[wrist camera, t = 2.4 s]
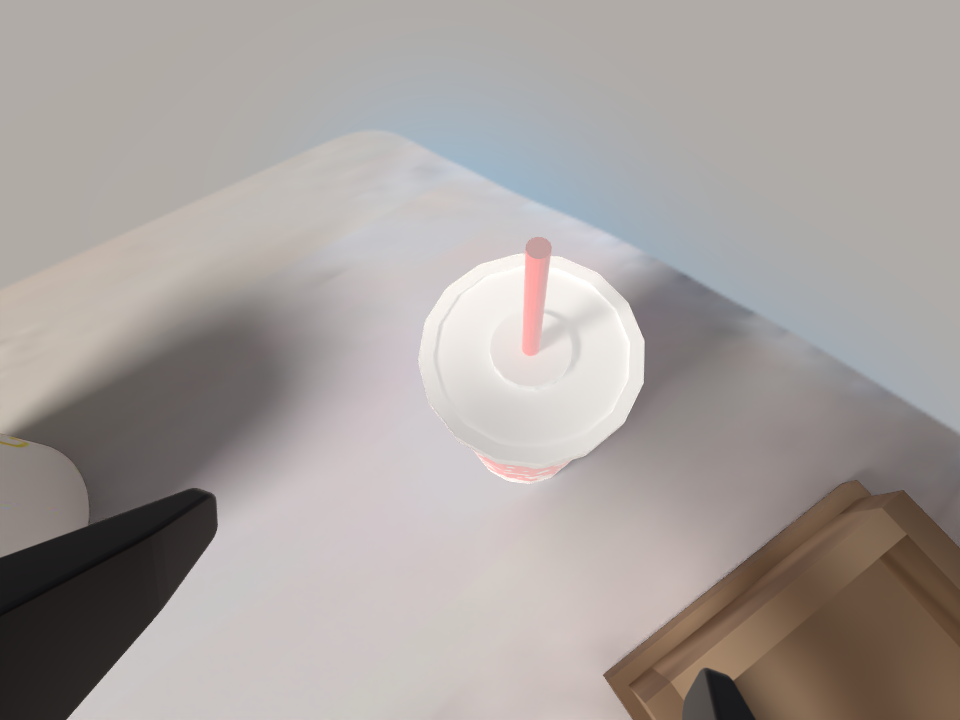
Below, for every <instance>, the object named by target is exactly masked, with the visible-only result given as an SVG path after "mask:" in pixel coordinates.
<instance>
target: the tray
mask: <svg viewBox="0 0 960 720" xmlns="http://www.w3.org/2000/svg"><path fill="white" fill-rule="evenodd" d="M705 667H706V668H710V669H713V670H716V671H719V672H721V673H724V674H727V675H728V676H729V677H730V678H731V679H732V680H733V681H734V683H735V684H736V686H737V688H738V690H739V691H740V693H741V695H742V696H743V698H744V700H745V701H746V703H747V705H748V707H749V708H750V710H751V712H752V713H753V715H754V717H755V718H756V720H960V548H959V547H958V546H957V545H956V544H955V543H954V542H953V541H952V540H951V539H950V538H949V537H948V536H947V535H946V534H945V532H944V531H943V530H942V529H941V528H940V527H939V526H938V525H937V524H936V523H935V522H934V521H933V520H932V519H931V518H930V517H929V516H928V515H927V514H926V513H925V512H924V511H923V510H922V509H921V508H920V507H919V506H918V505H917V504H916V503H915V502H914V501H913V500H912V499H911V498H910V497H909V496H908V495H907V493H906V492H905V491H904V490H902V491H897V492H891V493H886V494H881V495H876V496H872V495H871V494H870V493H869V492H868V491H867V490H866V489H865V488H864V487H863V486H862V485H861V484H860V483H859V482H858V481H857V480H855V481H851V482H847V483H843V484H841V485H840V486H838V487H837V488H836V489H835V490H833V491H832V492H831V493H830V494H828V495H827V496H826V497H825V498H823V499H822V500H821V501H820V502H818V503H817V504H816V505H815V506H813V507H812V508H811V509H810V510H808V511H807V512H806V513H805V514H803V515H802V516H801V517H800V518H798V519H797V520H796V521H795V522H793V523H792V524H791V525H790V526H788V527H787V528H786V529H785V530H783V531H782V532H781V533H780V534H778V535H777V536H776V537H775V538H773V539H772V540H771V541H770V542H768V543H767V544H766V545H765V546H763V547H762V548H761V549H760V550H758V551H757V552H756V553H755V554H753V555H752V556H751V557H750V558H748V559H747V560H746V561H745V562H744V563H742V564H741V565H740V566H739V567H737V568H736V569H735V570H734V571H732V572H731V573H730V574H729V575H727V576H726V577H725V578H724V579H722V580H721V581H720V582H719V583H717V584H716V585H715V586H714V587H712V588H711V589H710V590H709V591H707V592H706V593H705V594H704V595H702V596H701V597H700V598H699V599H697V600H696V601H695V602H694V603H692V604H691V605H690V606H689V607H687V608H686V609H685V610H684V611H682V612H681V613H680V614H679V615H677V616H676V617H675V618H674V619H672V620H671V621H670V622H669V623H667V624H666V625H665V626H664V627H662V628H661V629H660V630H659V631H657V632H656V633H655V634H654V635H652V636H651V637H650V638H649V639H647V640H646V641H645V642H644V643H642V644H641V645H640V646H639V647H637V648H636V649H635V650H634V651H632V652H631V653H630V654H629V655H627V656H626V657H625V658H624V659H622V660H621V661H620V662H619V663H617V664H616V665H615V666H614V667H612V668H611V669H610V670H609V671H607V672H606V673H605V674H604V675H603V676H604V677H605V679H606V680H607V682H608V683H609V685H610V686H611V688H612V689H613V691H614V692H615V694H616V695H617V697H618V698H619V700H620V701H621V703H622V704H623V706H624V707H625V709H626V710H627V712H628V713H629V715H630V716H631V718H632V719H633V720H682V708H683V703H684V699H685V697H686V694H687V693H688V691H689V689H690V687H691V686H692V684H693V682H694V680H695V678H696V677H697V675H698V673H699V671H700V670H701V669H702V668H705Z"/></svg>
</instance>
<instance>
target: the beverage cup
mask: <svg viewBox="0 0 960 720" xmlns="http://www.w3.org/2000/svg"><path fill="white" fill-rule="evenodd" d="M418 363H419V367H420V371H421V375H422V379H423V383H424V387H425V391H426V395H427V399H428V402H429V404H430V406H431V407H432V408H433V410H434V411H435V412H436V413H437V415H438V416H439V417H440V419H441V420H442V421H443V422H444V424H445V425H446V426H447V428H448V429H449V430H450V431H451V433H452V434H453V435H454V437H455V438H456V439H457V440H458V442H459V443H461V444H463V445H465V446H467V447H468V448H470V449H472V450H474V451H475V453H476V454H477V455H478V457H479V458H480V459H481V460H482V462H483V463H484V464H485V465H486V467H487V468H488V469H489V471H491V472H493V473H495V474H496V475H498V476H500V477H502V478H504V479H505V480H507V481H511V482H520V483H528V484H531V483H534V482H538V481H541V480H545V479H548V478H551V477H552V476H554V475H555V474H556V473H557V472H559V471H560V470H561V469H562V468H563V467H565V466H566V465H567V464H568V463H569V462H570V461H571V460H573V459H577V458H580V457H584V456H586V455H587V454H588V453H589V452H591V451H592V450H593V449H594V448H595V447H597V446H598V445H599V444H600V443H601V442H603V441H604V440H605V439H606V438H607V437H609V436H610V435H611V434H612V433H613V432H615V431H616V430H617V429H618V428H619V427H620V426H622V425H623V424H624V422H625V420H626V418H627V416H628V414H629V412H630V410H631V408H632V406H633V404H634V402H635V400H636V398H637V396H638V394H639V392H640V390H641V388H642V385H643V383H644V338H643V336H642V334H641V331H640V329H639V327H638V324H637V322H636V320H635V317H634V315H633V313H632V310H631V308H630V306H629V303H628V302H627V301H626V300H625V299H624V298H623V297H622V296H621V295H620V294H619V293H618V292H617V291H616V290H615V289H614V288H613V287H612V286H611V285H610V284H609V283H608V282H607V281H606V280H605V279H604V278H603V277H602V276H601V275H600V274H599V273H596V272H594V271H592V270H590V269H587V268H585V267H583V266H581V265H578V264H576V263H574V262H572V261H569V260H567V259H565V258H563V257H559V256H551V244H550V242H549V241H548V240H547V239H545V238H542V237H535V238H532V239H531V240H529V241H528V243H527V244H526V251H525V254H516V255H512V256H508V257H505V258H501V259H497V260H494V261H490V262H486V263H483V264H479V265H478V266H477V267H475V268H474V269H472V270H471V271H470V272H468V273H467V274H465V275H464V276H463V277H461V278H460V279H458V280H457V281H456V282H454V283H453V284H451V285H450V286H448V287H447V288H446V290H445V291H444V293H443V294H442V296H441V297H440V299H439V300H438V302H437V303H436V305H435V307H434V308H433V310H432V311H431V313H430V314H429V316H428V317H427V319H426V320H425V324H424V329H423V335H422V341H421V346H420V352H419V358H418Z"/></svg>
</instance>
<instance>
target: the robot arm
mask: <svg viewBox="0 0 960 720" xmlns="http://www.w3.org/2000/svg"><path fill="white" fill-rule="evenodd" d="M217 527H218V522H217V504H216V497H215V496H214V494H212V493H210V492H207V491H204V490H201V489H198V488H191V489H188V490H185V491H182V492H180V493H177V494H174V495H171V496H169V497H166V498H163V499H160V500H158V501H155V502H152V503H149V504H147V505H144V506H141V507H138V508H135V509H133V510H130V511H127V512H124V513H122V514H119V515H116V516H113V517H111V518H108V519H105V520H102V521H100V522H97V523H94V524H91V525H89V526H86V527H83V528H80V529H78V530H75V531H72V532H69V533H67V534H64V535H61V536H58V537H55V538H53V539H50V540H47V541H44V542H42V543H39V544H36V545H33V546H31V547H28V548H25V549H22V550H20V551H17V552H14V553H11V554H9V555H6V556H3V557H0V720H66V719H67V718H68V717H69V716H70V715H71V714H72V713H73V711H74V710H75V709H76V708H77V707H78V706H79V705H80V703H81V702H82V701H83V700H84V699H85V698H86V697H87V695H88V694H89V693H90V692H91V691H92V690H93V688H94V687H95V686H96V685H97V684H98V683H99V682H100V680H101V679H102V678H103V677H104V676H105V675H106V674H107V672H108V671H109V670H110V669H111V668H112V667H113V666H114V664H115V663H116V662H117V661H118V660H119V659H120V657H121V656H122V655H123V654H124V653H125V652H126V651H127V649H128V648H129V647H130V646H131V645H132V644H133V643H134V641H135V640H136V639H137V638H138V637H139V636H140V635H141V633H142V632H143V631H144V630H145V629H146V628H147V626H148V625H149V624H150V623H151V622H152V621H153V619H154V618H155V617H156V616H157V615H158V613H159V612H160V611H161V610H162V609H163V607H164V606H165V605H166V603H167V602H168V601H169V599H170V598H171V597H172V595H173V594H174V592H175V591H176V590H177V588H178V587H179V585H180V584H181V583H182V581H183V580H184V579H185V577H186V576H187V574H188V573H189V572H190V570H191V569H192V567H193V566H194V565H195V563H196V562H197V561H198V559H199V558H200V556H201V555H202V554H203V552H204V551H205V549H206V548H207V547H208V545H209V544H210V543H211V541H212V540H213V538H214V536H215V534H216V531H217ZM682 720H756V718H755V717H754V715H753V713H752V712H751V710H750V708H749V707H748V705H747V703H746V701H745V700H744V698H743V696H742V695H741V693H740V691H739V690H738V688H737V686H736V684H735V683H734V681H733V680H732V679H731V678H730V677H729V676H728V675H727V674H724V673H721V672H719V671H716V670H713V669H710V668H706V667H705V668H702V669H701V670H700V671H699V673H698V675H697V677H696V678H695V680H694V682H693V684H692V686H691V687H690V689H689V691H688V693H687V694H686V697H685V699H684V703H683V708H682Z"/></svg>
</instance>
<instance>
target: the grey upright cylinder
mask: <svg viewBox="0 0 960 720" xmlns="http://www.w3.org/2000/svg"><path fill="white" fill-rule="evenodd" d="M88 522H89V500H88V494H87V489H86V486H85V483H84V480H83V478H82V476H81V474H80V472H79V471H78V469H77V467H76V466H75V465H74V464H73V462H72V461H71V460H70V459H69V458H67V457H66V456H65V455H64V454H62V453H61V452H59V451H58V450H56V449H54V448H51V447H49V446H46V445H42V444H39V443H35V442H31V441H27V440H23V439H19V438H15V437H11V436H7V435H3V434H0V557H3V556H6V555H9V554H11V553H14V552H17V551H20V550H22V549H25V548H28V547H31V546H33V545H36V544H39V543H42V542H44V541H47V540H50V539H53V538H55V537H58V536H61V535H64V534H67V533H69V532H72V531H75V530H78V529H80V528H83V527H86V526H88Z"/></svg>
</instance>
